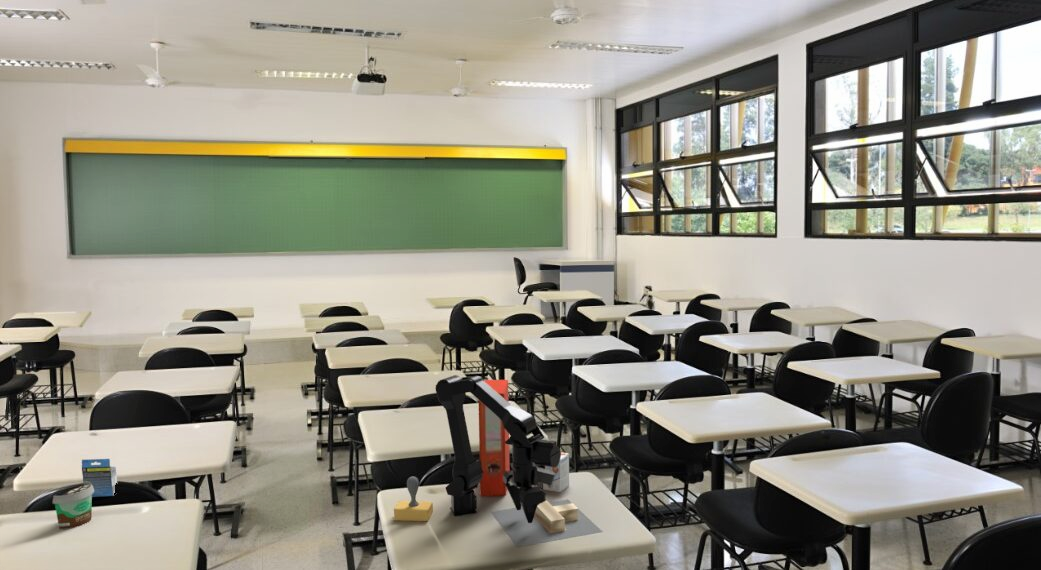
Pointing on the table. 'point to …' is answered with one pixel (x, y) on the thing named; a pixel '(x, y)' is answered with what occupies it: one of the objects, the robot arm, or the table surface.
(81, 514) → the food container
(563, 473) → the light bulb box
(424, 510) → the rubber stamp
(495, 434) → the file binder
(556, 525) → the t block
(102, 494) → the label tape box
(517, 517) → the mat
